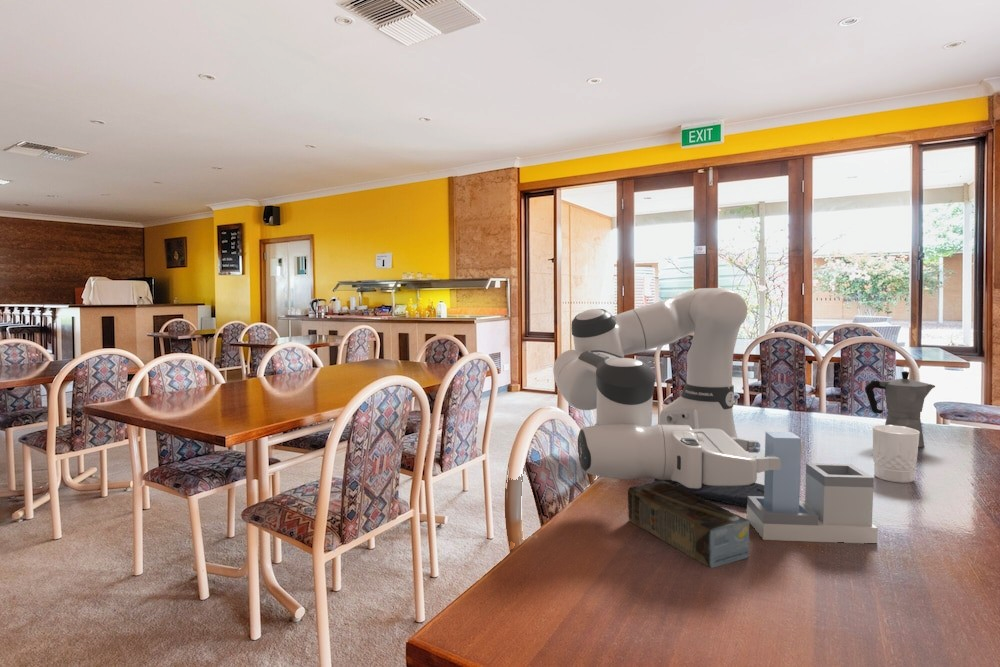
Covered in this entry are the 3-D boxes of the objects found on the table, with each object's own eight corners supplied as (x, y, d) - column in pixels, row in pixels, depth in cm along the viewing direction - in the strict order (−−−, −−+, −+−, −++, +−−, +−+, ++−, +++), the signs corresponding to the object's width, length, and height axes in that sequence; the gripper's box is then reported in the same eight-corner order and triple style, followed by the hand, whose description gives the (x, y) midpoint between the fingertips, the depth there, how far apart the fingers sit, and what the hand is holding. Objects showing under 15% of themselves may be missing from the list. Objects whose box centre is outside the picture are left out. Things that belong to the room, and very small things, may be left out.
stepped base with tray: (763, 539, 90) (764, 476, 89) (746, 518, 98) (747, 460, 98) (877, 543, 88) (879, 479, 87) (850, 522, 97) (852, 462, 96)
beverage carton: (709, 571, 81) (709, 525, 80) (625, 522, 98) (625, 484, 98) (751, 559, 84) (752, 515, 84) (662, 514, 102) (662, 477, 101)
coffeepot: (922, 439, 148) (925, 369, 147) (942, 449, 139) (946, 374, 138) (855, 437, 151) (858, 368, 150) (871, 446, 142) (874, 373, 141)
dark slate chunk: (752, 518, 100) (753, 491, 100) (642, 487, 116) (642, 464, 116) (788, 496, 110) (788, 471, 110) (682, 470, 126) (682, 449, 126)
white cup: (925, 485, 114) (927, 434, 113) (880, 482, 116) (882, 433, 115) (906, 472, 122) (908, 425, 121) (864, 470, 123) (866, 424, 123)
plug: (772, 518, 92) (774, 437, 91) (763, 509, 96) (765, 431, 95) (802, 519, 91) (805, 438, 90) (793, 510, 95) (795, 432, 94)
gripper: (668, 453, 105) (748, 455, 103) (692, 492, 85) (792, 495, 83) (668, 419, 104) (748, 420, 103) (692, 450, 84) (793, 452, 83)
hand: (768, 454), depth 93 cm, fingers open, 8 cm apart
